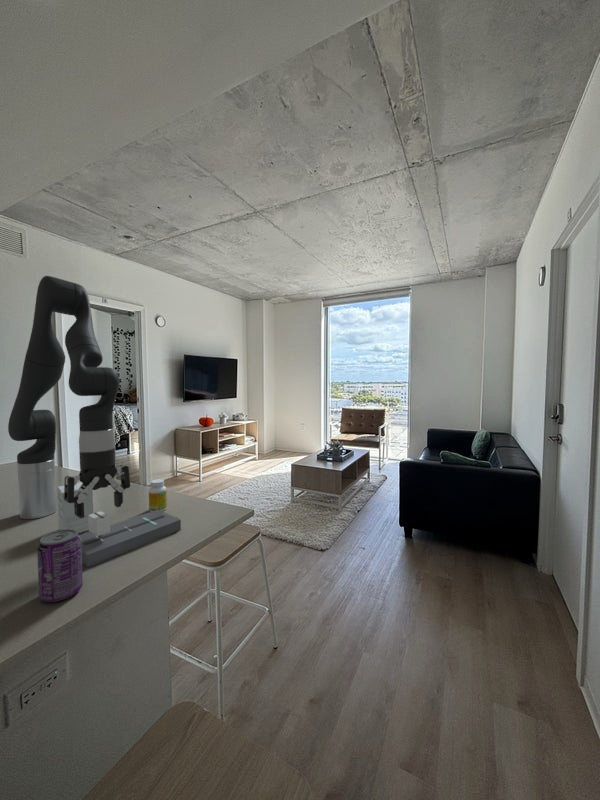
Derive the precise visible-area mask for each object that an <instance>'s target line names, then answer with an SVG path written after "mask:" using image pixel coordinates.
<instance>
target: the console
mask: <svg viewBox="0 0 600 800" xmlns="http://www.w3.org/2000/svg"><path fill="white" fill-rule="evenodd" d="M181 523H182V522H181V518H178V517H175V516H173V515H171V514H169V513H167V512H165V511H160V510H155V511H152V512H150V511H149V512H146V513H144V514H141V515H137V516H134V517H132V518H129V519H126V520H122V521H119V522H117V523H114V524H110V532H108V533H105V534H102V537H100V538H98V537H97V536H96V535H95V534H93V533H92V532H90V531H88V532H86V533H84V534H79V535H78V536H79V537H80V539H81V552H82V565H84V566H86V567H87V568H90V567H93V566H95V565H98V564H100V563H103V562H105V561H108V560H110V559H113V558H115V557H117V556H120V555H122V554H125V553H127V552H130V551H132V550H134V549H137V548H139V547H143V546H144V545H147V544H149V543H152V542H154V541H157V540H159V539H161V538H164V537H166V536H169V535H171V534H174V533H176V532H179V531H181V530H182V525H181Z"/></svg>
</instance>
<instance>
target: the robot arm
mask: <svg viewBox="0 0 600 800" xmlns="http://www.w3.org/2000/svg"><path fill="white" fill-rule="evenodd" d="M38 283H39V284H38V286H37V292H36V297H35V304H34V314H33V321H32V328H31V332H30V333H31V334H30V337H29V340H28V341H29V342H28V346H27V349H26V353H25V357H24V362H23V366H22V373H21V379H20V382H19V387H18V392H17V394H16V397H15V398H16V399H15V400H14V404H13V406H12V409H11V412H10V416H9V420H8V424H7V431H8V434H9V435H8V436H9V437H10V439H11V440H13V441H16V442H25V441H32V440H36V441H35V443H34V444H33V445H31V446H30V447H27V448H26V449H24V450H23V451H20V452H19V453H17V455H16V459H17V460H16V462H17V463H16V465H17V485H18V486H17V487H18V489H17V490H18V507H19V508H18V509H19V518H20V519H23V520H34V519H38V518H44V517H47V516H50V515H52V514H53V513H55V512H57V493H56V491H57V489H56V488H57V487H56V468H55V467H56V465H55V463H56V462H55V452H56V449H57V448H56V447H57V446H56V443H57V442H56V437H57V436H56V435H57V422H56V417H55V415H54V413H53V412H52V411H51V410H49V409H36V410H35V407H36V405H37V404H38V402H39V401H40V400H41V398H43V396H45V395H46V394H47V393H48V392H49V391H50V390H51V389H53V387H55V386H56V384H57V383H58V382H59V381H60V379H61V378H62V374H63V372H64V367H65V363H66V354H65V351H64V349H63V347H62V345H61V344H60V341H59V340H58V338H57V336H56V333H55V331H54V329H53V325H52V314H53V313H58V314H63V315H67V316H74V317H75V321H74V322H73V324H72V325H71V326H70V328H68V330H67V331H66V334H65V336H64V344H65V348H66V352H67V354H68V357H69V362H70V363H69V364H70V369H69V376H68V377H69V378H68V387H69V390H70V391H71V392H72V393H73V394H75V395H77V396H78V397H91V396H92V397H95V396H96V397H97V396H100V398H99V400H98V401H97V402H96V403H94V404H89V405H86V406H82V407H81V408H80V409H79V410H78V412H79V413H78V418H79V420H78V422H79V437H78V448H79V449H78V450H79V452H78V453H79V474H78V475H73V476H71V475H66V476H65V477H64V484H63V486H64V500H65V501H67V502H68V503H74V511H75V515H76V516H78V517H79V518H80V519H81V518H84V503H83V502H82V501H83V500H84V498H85V497H86V496H87V495H88V494H89V493H90V491H91V490H93V491H96V490H99V489H101V488H104V489H105V488H108V487H111V488H112V489H113V490H114V491H113V503H114V506H115V507H116V508H121V507H122V504H123V503H124V495H123V494H124V491H125V490H127V489H129V488H130V487H131V480H130V477H131V476H130V467H129V466H127V465H126V464H125V465H124V464H121V465H119V466H118V467H116V441H115V433H114V421H113V412H114V406H115V401H116V397H117V395H118V394H117V393H118V391H119V387H120V375H119V374H118V371H116V370H115V369H114V368H112V367H103V366H101V364H102V363H103V355H102V352H101V349H100V346H99V344H98V340H97V339H96V335H95V331H94V324H93V318H92V310H91V303H90V297H89V294H88V292H87V290H86V288H85V287H84V286H83V285H81V284H79V283H76V282H72V281H68V280H65V279H62V278H58V277H56V276H50V275H44V276H43V277H41V278H40V280H39V282H38ZM100 366H101V367H100ZM117 474H118V475H120V484H119V483H118V481H116V479H114V478H115V477H116V475H117ZM78 481H79V482H82V485H81V486H80V488H79V489H78V492H77V494H76V495H75V496H74V486H75V485H76V484H77V483H78Z"/></svg>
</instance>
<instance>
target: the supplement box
mask: <svg viewBox="0 0 600 800" xmlns="http://www.w3.org/2000/svg"><path fill="white" fill-rule="evenodd" d="M81 485H82V482H81V481H79V482H77V484H76V485H75V486H74V496H75V495H76V494H77V492H78V489H79V488H80V486H81ZM56 488H57V489H56V491H57V507H58V508H57V509H58V510H57V511H58V528H59V530H63V529H75V530H77V531H78V534H81V533H84V532H87V531H88V532H89V523H88V515H90V514H93V513H94V497H93V496H94V493H93V492H94V490H91V491H90V493H89V494H88V495H87V496H86V497H85V498H84V500H83V501H82V502H83V503H84V518H81V519H80V518H79V517H78V516H76V515H75V511H74V503H68V502H67V501H65V500H64V485H59V486H57V487H56Z"/></svg>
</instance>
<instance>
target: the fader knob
mask: <svg viewBox="0 0 600 800" xmlns="http://www.w3.org/2000/svg"><path fill="white" fill-rule="evenodd" d="M88 523H89V530H88V532H92V533H93V534H95V535H96V536H97V537H98V538H100V537H102V534H105V533H108V532H110V525H111V516H110V515H109V514H108V513H105V512H103V511H98V512H93V514H90V515H88Z"/></svg>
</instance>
